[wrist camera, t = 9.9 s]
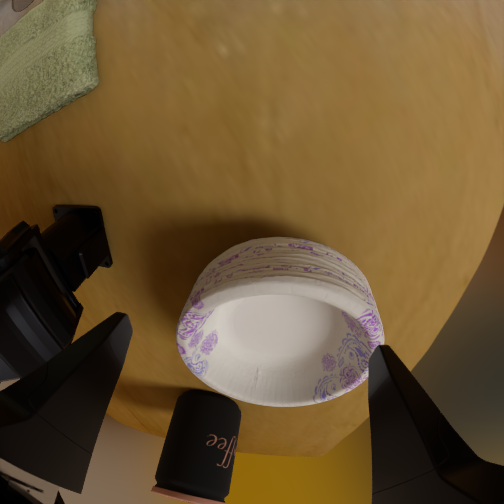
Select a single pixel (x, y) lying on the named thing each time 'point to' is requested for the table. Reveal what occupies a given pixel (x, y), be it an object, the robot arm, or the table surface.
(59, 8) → the washcloth
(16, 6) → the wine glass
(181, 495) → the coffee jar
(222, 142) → the table surface
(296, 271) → the paper bowls
